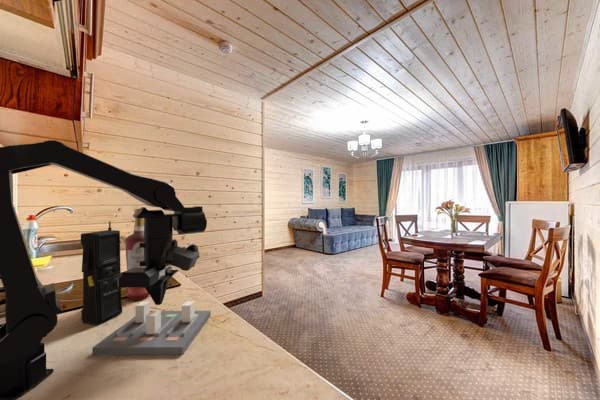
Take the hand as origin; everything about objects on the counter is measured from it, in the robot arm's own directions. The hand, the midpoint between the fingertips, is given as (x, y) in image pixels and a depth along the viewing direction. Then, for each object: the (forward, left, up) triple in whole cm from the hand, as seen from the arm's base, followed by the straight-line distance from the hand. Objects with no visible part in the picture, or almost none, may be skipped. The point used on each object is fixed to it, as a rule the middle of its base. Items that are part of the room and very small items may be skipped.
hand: (158, 304), depth 57 cm
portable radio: (-19, +7, -7) cm, 22 cm away
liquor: (-18, +21, -7) cm, 29 cm away
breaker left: (-6, +3, -5) cm, 8 cm away
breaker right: (+5, +3, -5) cm, 8 cm away
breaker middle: (0, -2, -5) cm, 5 cm away
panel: (0, 0, -7) cm, 7 cm away
